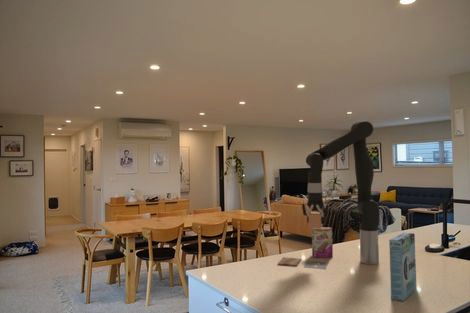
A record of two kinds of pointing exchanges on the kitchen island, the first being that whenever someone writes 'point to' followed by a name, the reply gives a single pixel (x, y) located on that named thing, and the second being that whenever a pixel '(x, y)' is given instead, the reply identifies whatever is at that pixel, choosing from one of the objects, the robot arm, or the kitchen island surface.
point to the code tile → (316, 264)
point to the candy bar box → (322, 242)
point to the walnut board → (289, 261)
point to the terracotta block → (315, 220)
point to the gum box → (402, 266)
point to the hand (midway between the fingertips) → (315, 223)
